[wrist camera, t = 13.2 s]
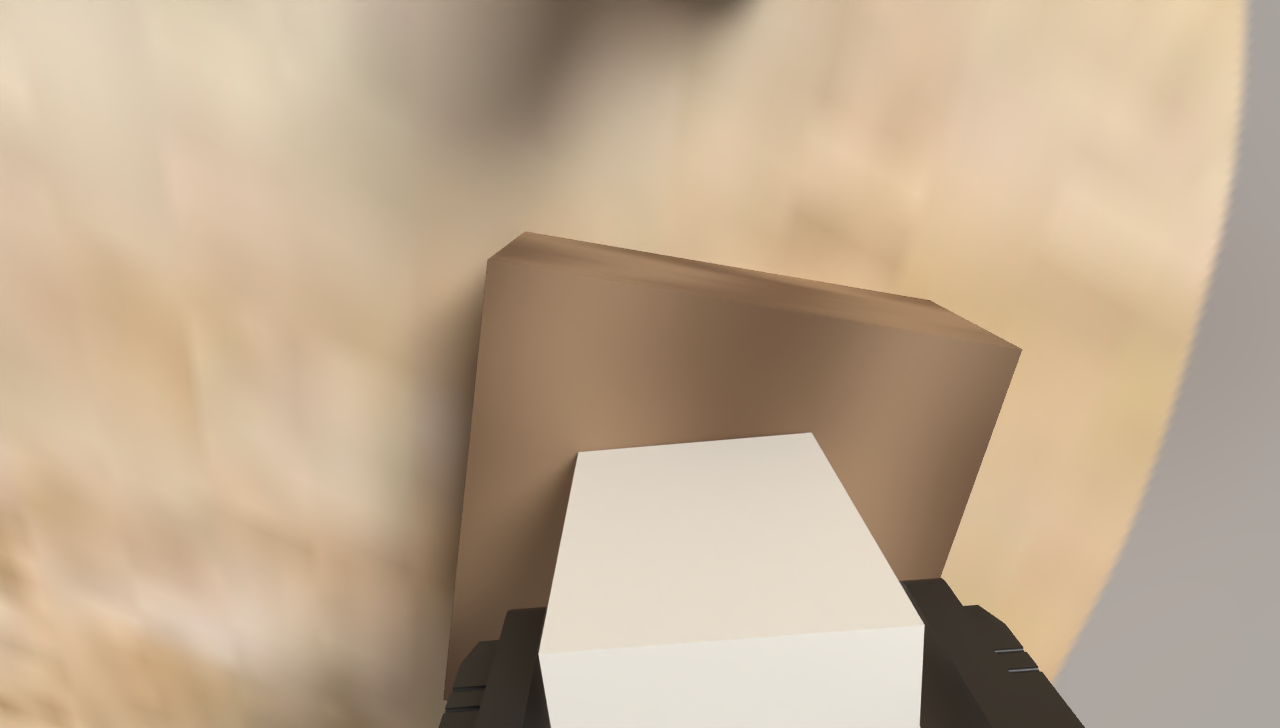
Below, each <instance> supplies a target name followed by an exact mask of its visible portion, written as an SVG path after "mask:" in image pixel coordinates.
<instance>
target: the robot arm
mask: <svg viewBox="0 0 1280 728" xmlns="http://www.w3.org/2000/svg"><path fill="white" fill-rule="evenodd" d="M899 582H900V584H901V586H902V587H903V589H904V591H905V593H906V594H907V596H908V598H909V599H910V601H911V603H912V604H913V606H914V608H915V610H916V611H917V613H918V615H919V616H920V618H921V620H922V621H923V623H924V625H925V626H924V647H923V667H922V687H921V707H920V727H921V728H1085V727H1084V726H1083V725H1082V723H1081V722H1080V721H1079V719H1078V718H1077V717H1076V715H1075V714H1074V713H1073V712H1072V710H1071V709H1070V708H1069V706H1068V705H1067V704H1066V702H1065V701H1064V700H1063V699H1062V697H1061V696H1060V695H1059V693H1058V692H1057V691H1056V689H1055V688H1054V687H1053V685H1052V684H1051V683H1050V682H1049V680H1048V679H1047V678H1046V676H1045V675H1044V674H1043V672H1039V670H1038V666H1037V665H1036V663H1035V662H1034V661H1033V659H1032V658H1031V657H1030V656H1029V654H1028V653H1027V652H1024V650H1023V646H1022V645H1021V644H1020V643H1019V641H1018V640H1017V639H1016V637H1015V636H1014V635H1013V633H1012V632H1011V631H1010V629H1009V628H1008V627H1007V626H1006V624H1005V623H1003V622H1002V621H1000V620H999V619H997V618H996V617H995V616H993V615H992V614H990V613H989V612H987V611H986V610H985V609H983V608H982V607H980V606H979V605H972V606H963V605H962V604H961V603H960V601H959V600H958V598H957V597H956V596H955V594H954V593H953V591H952V590H951V588H950V587H949V586H948V584H947V583H946V582H945V581H944V580H943V579H942V578H931V579H918V580H905V581H899ZM547 608H548V607H537V608H524V609H510V610H508V612H507V614H506V617H505V620H504V624H503V627H502V631H501V635H500V638H499V640H490V641H479V642H478V644H477V645H476V646H475V647H474V648H473V649H472V651H471V652H470V653H469V654H468V655H467V657H466V658H465V659H464V660H463V661H462V662H461V664H460V667H459V670H458V673H457V676H456V679H455V682H454V685H453V687H452V689H453V690H452V693H450V696H449V699H448V702H447V705H446V708H445V709H446V711H445V713H444V714H443V717H442V720H441V722H440V725H439V728H551V725H550V719H549V713H548V707H547V701H546V695H545V690H544V684H543V678H542V672H541V666H540V661H539V655H538V653H539V648H540V643H541V638H542V633H543V628H544V623H545V618H546V613H547Z"/></svg>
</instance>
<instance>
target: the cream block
mask: <svg viewBox="0 0 1280 728" xmlns="http://www.w3.org/2000/svg"><path fill="white" fill-rule="evenodd" d="M924 626H925V625H924V623H923V621H922V620H921V618H920V616H919V615H918V613H917V611H916V610H915V608H914V606H913V604H912V603H911V601H910V599H909V598H908V596H907V594H906V593H905V591H904V589H903V587H902V586H901V584H900V582H899V581H898V579H897V577H896V575H895V574H894V572H893V570H892V569H891V567H890V565H889V564H888V562H887V560H886V558H885V557H884V555H883V553H882V552H881V550H880V548H879V547H878V545H877V543H876V541H875V540H874V538H873V536H872V535H871V533H870V531H869V529H868V528H867V526H866V524H865V523H864V521H863V519H862V518H861V516H860V514H859V512H858V511H857V509H856V507H855V506H854V504H853V502H852V501H851V499H850V497H849V495H848V494H847V492H846V490H845V489H844V487H843V485H842V484H841V482H840V480H839V478H838V477H837V475H836V473H835V472H834V470H833V468H832V466H831V465H830V463H829V461H828V460H827V458H826V456H825V455H824V453H823V451H822V449H821V448H820V446H819V444H818V443H817V441H816V439H815V438H814V436H813V434H812V433H800V434H788V435H776V436H764V437H752V438H740V439H728V440H716V441H705V442H693V443H681V444H669V445H657V446H645V447H633V448H621V449H609V450H597V451H586V452H578V457H577V462H576V467H575V472H574V477H573V482H572V487H571V492H570V497H569V502H568V507H567V512H566V517H565V522H564V527H563V532H562V537H561V542H560V547H559V552H558V558H557V563H556V568H555V573H554V578H553V583H552V588H551V593H550V598H549V603H548V608H547V613H546V618H545V623H544V628H543V633H542V638H541V643H540V648H539V653H538V655H539V661H540V666H541V672H542V678H543V684H544V690H545V695H546V701H547V707H548V713H549V719H550V725H551V728H920V707H921V687H922V667H923V647H924Z"/></svg>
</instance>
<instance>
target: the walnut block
mask: <svg viewBox="0 0 1280 728" xmlns="http://www.w3.org/2000/svg"><path fill="white" fill-rule="evenodd" d="M1021 351H1022V349H1021V348H1019V347H1017V346H1015V345H1013V344H1011V343H1009V342H1007V341H1005V340H1004V339H1002V338H1000V337H998V336H996V335H994V334H992V333H990V332H988V331H987V330H985V329H983V328H981V327H979V326H977V325H975V324H973V323H971V322H970V321H968V320H966V319H964V318H962V317H960V316H958V315H956V314H954V313H953V312H951V311H949V310H947V309H945V308H943V307H941V306H939V305H937V304H936V303H934V302H932V301H930V300H924V299H918V298H912V297H906V296H901V295H895V294H889V293H883V292H877V291H871V290H865V289H859V288H854V287H848V286H842V285H836V284H830V283H824V282H818V281H812V280H806V279H801V278H795V277H789V276H783V275H777V274H771V273H765V272H759V271H753V270H748V269H742V268H736V267H730V266H724V265H718V264H712V263H706V262H701V261H695V260H689V259H683V258H677V257H671V256H665V255H659V254H653V253H648V252H642V251H636V250H630V249H624V248H618V247H612V246H606V245H600V244H595V243H589V242H583V241H577V240H571V239H565V238H559V237H553V236H547V235H542V234H536V233H530V232H524V233H523V234H521V235H520V236H519V237H517V238H516V239H515V240H513V241H512V242H511V243H509V244H508V245H507V246H505V247H504V248H503V249H501V250H500V251H499V252H498V253H496V254H495V255H494V256H492V257H491V258H490V259H488V261H487V271H486V281H485V291H484V301H483V311H482V321H481V331H480V341H479V351H478V361H477V371H476V381H475V391H474V401H473V410H472V420H471V430H470V440H469V450H468V460H467V470H466V480H465V490H464V500H463V510H462V520H461V530H460V540H459V550H458V560H457V570H456V580H455V590H454V600H453V610H452V620H451V630H450V640H449V650H448V660H447V670H446V680H445V690H444V700H447V701H448V699H449V696H450V693H452V690H453V689H452V687H453V685H454V682H455V679H456V676H457V673H458V670H459V667H460V664H461V662H462V661H463V660H464V659H465V658H466V657H467V655H468V654H469V653H470V652H471V651H472V649H473V648H474V647H475V646H476V645H477V644H478V642H479V641H490V640H499V638H500V635H501V631H502V627H503V624H504V620H505V617H506V614H507V612H508V610H510V609H524V608H537V607H548V603H549V598H550V593H551V588H552V583H553V578H554V573H555V568H556V563H557V558H558V552H559V547H560V542H561V537H562V532H563V527H564V522H565V517H566V512H567V507H568V502H569V497H570V492H571V487H572V482H573V477H574V472H575V467H576V462H577V457H578V452H586V451H597V450H609V449H621V448H633V447H645V446H657V445H669V444H681V443H693V442H705V441H716V440H728V439H740V438H752V437H764V436H776V435H788V434H800V433H812V434H813V436H814V438H815V439H816V441H817V443H818V444H819V446H820V448H821V449H822V451H823V453H824V455H825V456H826V458H827V460H828V461H829V463H830V465H831V466H832V468H833V470H834V472H835V473H836V475H837V477H838V478H839V480H840V482H841V484H842V485H843V487H844V489H845V490H846V492H847V494H848V495H849V497H850V499H851V501H852V502H853V504H854V506H855V507H856V509H857V511H858V512H859V514H860V516H861V518H862V519H863V521H864V523H865V524H866V526H867V528H868V529H869V531H870V533H871V535H872V536H873V538H874V540H875V541H876V543H877V545H878V547H879V548H880V550H881V552H882V553H883V555H884V557H885V558H886V560H887V562H888V564H889V565H890V567H891V569H892V570H893V572H894V574H895V575H896V577H897V579H898V581H905V580H918V579H931V578H940V577H941V574H942V571H943V568H944V566H945V563H946V560H947V557H948V554H949V552H950V549H951V546H952V543H953V541H954V538H955V535H956V532H957V529H958V527H959V524H960V521H961V518H962V516H963V513H964V510H965V507H966V504H967V502H968V499H969V496H970V493H971V491H972V488H973V485H974V482H975V479H976V477H977V474H978V471H979V468H980V465H981V463H982V460H983V457H984V454H985V452H986V449H987V446H988V443H989V440H990V438H991V435H992V432H993V429H994V427H995V424H996V421H997V418H998V415H999V413H1000V410H1001V407H1002V404H1003V402H1004V399H1005V396H1006V393H1007V390H1008V388H1009V385H1010V382H1011V379H1012V376H1013V374H1014V371H1015V368H1016V365H1017V363H1018V360H1019V357H1020V354H1021Z"/></svg>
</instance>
